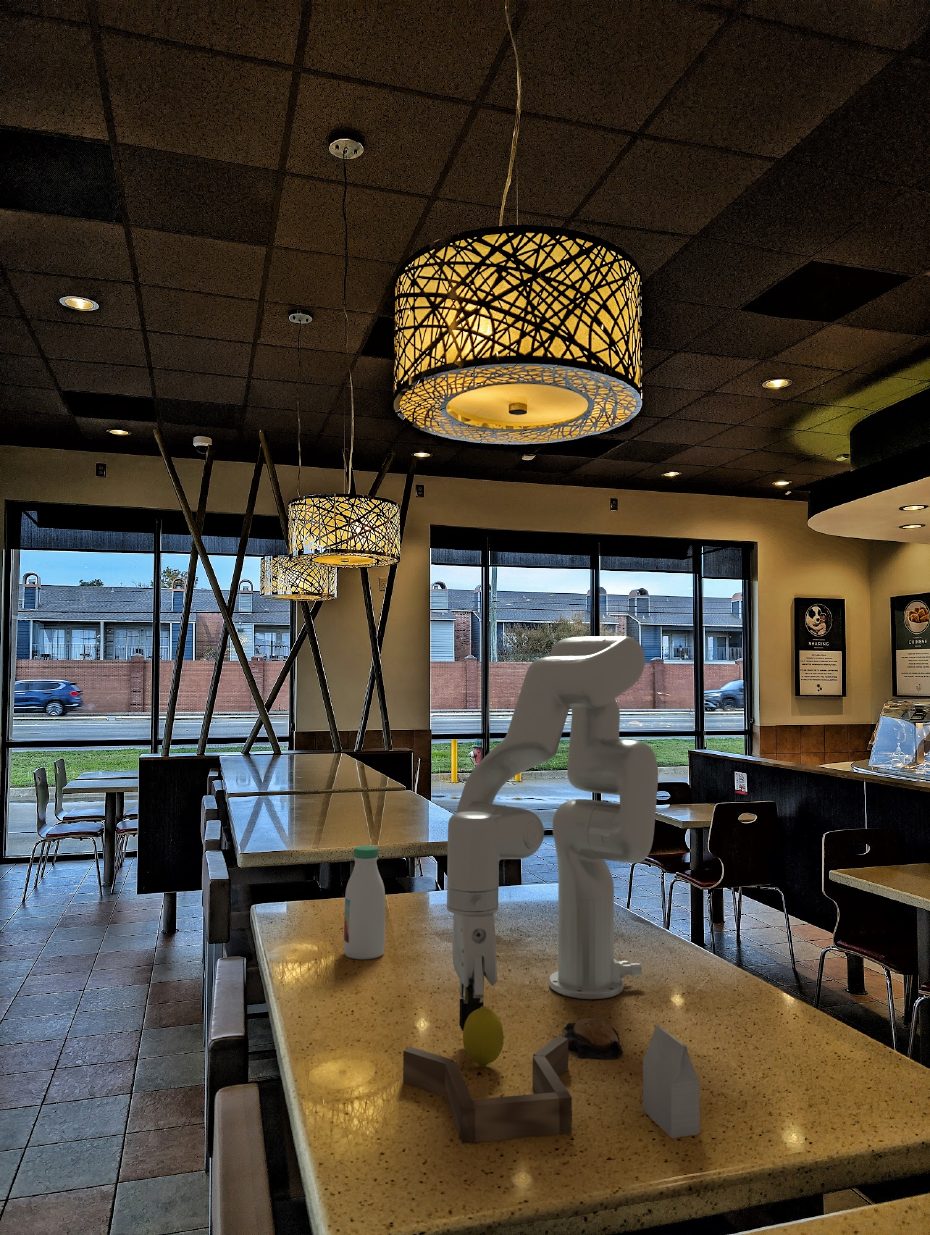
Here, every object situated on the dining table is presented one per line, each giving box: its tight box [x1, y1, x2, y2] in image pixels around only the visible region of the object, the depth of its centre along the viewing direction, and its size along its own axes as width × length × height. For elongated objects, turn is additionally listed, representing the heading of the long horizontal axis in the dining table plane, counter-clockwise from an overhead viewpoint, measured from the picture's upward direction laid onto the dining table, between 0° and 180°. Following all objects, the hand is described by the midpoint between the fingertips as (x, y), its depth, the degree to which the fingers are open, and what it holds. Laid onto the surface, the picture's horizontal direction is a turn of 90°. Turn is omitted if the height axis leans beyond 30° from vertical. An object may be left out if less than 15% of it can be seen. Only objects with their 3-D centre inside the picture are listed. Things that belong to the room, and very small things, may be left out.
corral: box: [402, 1035, 573, 1144], centre depth 108 cm, size 22×17×4 cm
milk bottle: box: [343, 845, 386, 960], centre depth 166 cm, size 8×8×20 cm
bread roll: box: [561, 1017, 625, 1061], centre depth 125 cm, size 11×8×4 cm
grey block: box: [642, 1024, 701, 1139], centre depth 104 cm, size 4×7×10 cm, turn 17°
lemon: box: [462, 1005, 505, 1069], centre depth 118 cm, size 6×6×8 cm
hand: (471, 1028), depth 125 cm, fingers closed
